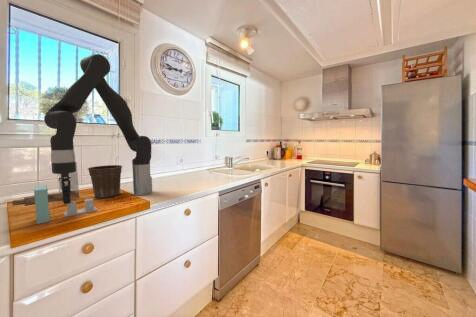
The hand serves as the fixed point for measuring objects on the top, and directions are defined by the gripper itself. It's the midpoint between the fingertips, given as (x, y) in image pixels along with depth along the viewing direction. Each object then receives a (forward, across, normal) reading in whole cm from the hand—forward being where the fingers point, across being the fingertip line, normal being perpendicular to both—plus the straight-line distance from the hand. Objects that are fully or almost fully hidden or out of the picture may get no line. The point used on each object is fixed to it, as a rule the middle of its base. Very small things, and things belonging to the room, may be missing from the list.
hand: (66, 202), depth 85 cm
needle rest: (+5, 0, -4) cm, 7 cm away
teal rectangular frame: (+5, 0, +7) cm, 9 cm away
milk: (+6, +32, -2) cm, 33 cm away
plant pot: (+6, +24, -18) cm, 31 cm away
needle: (-1, 0, +5) cm, 6 cm away
